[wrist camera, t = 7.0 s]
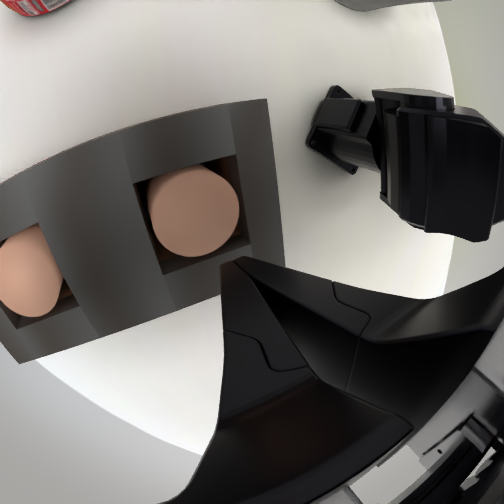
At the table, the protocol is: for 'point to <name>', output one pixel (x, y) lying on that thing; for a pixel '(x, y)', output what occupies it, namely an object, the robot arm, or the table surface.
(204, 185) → the peg
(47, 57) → the table surface
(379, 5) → the coffee mug
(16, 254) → the peg
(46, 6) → the soda can
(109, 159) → the block
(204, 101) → the table surface
